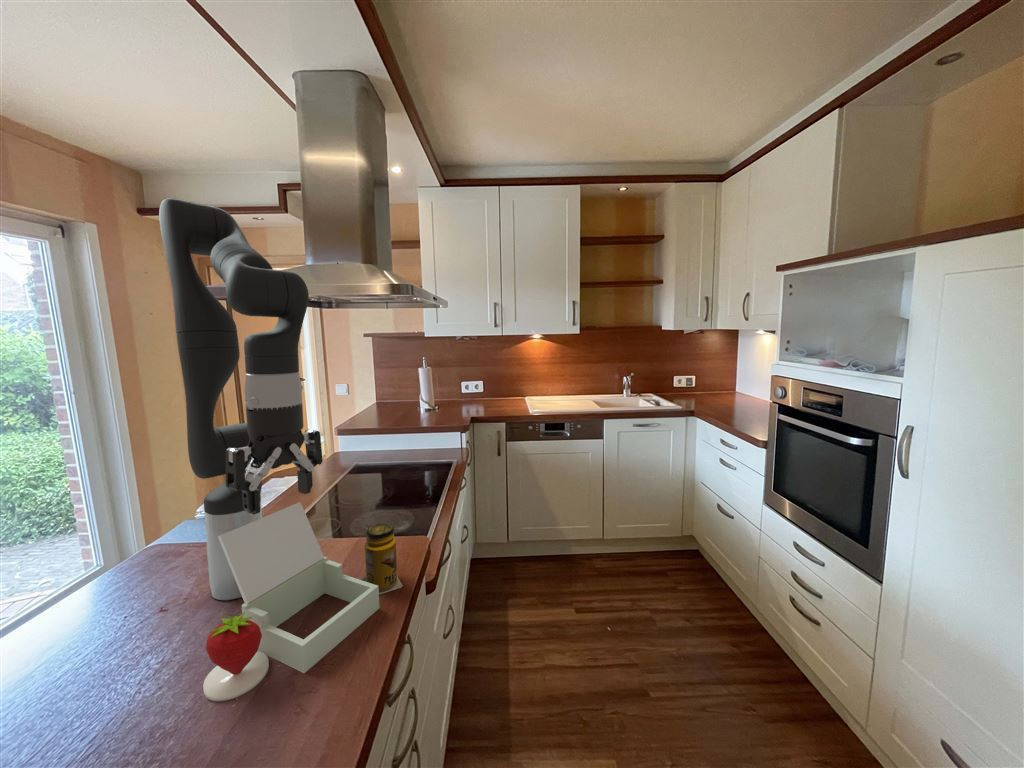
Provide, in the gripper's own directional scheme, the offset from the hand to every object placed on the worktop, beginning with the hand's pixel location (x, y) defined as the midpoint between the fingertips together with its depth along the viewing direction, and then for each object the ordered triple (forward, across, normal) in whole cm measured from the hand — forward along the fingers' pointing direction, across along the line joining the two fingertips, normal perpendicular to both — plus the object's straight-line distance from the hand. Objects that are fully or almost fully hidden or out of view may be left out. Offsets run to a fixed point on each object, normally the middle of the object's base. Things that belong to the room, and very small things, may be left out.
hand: (280, 502), depth 63 cm
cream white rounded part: (+24, +8, 0) cm, 26 cm away
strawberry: (+24, +8, 0) cm, 25 cm away
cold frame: (+24, -5, -2) cm, 25 cm away
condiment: (+25, -18, +2) cm, 31 cm away
